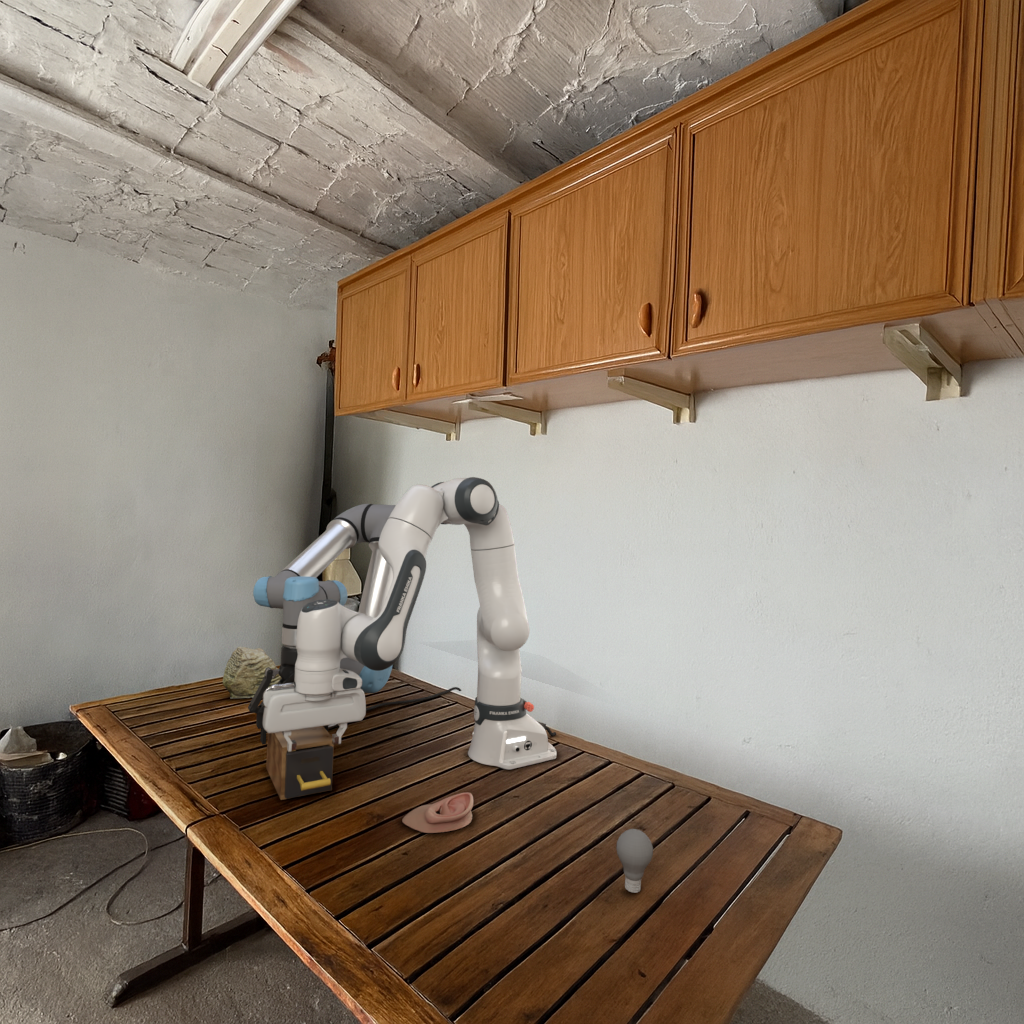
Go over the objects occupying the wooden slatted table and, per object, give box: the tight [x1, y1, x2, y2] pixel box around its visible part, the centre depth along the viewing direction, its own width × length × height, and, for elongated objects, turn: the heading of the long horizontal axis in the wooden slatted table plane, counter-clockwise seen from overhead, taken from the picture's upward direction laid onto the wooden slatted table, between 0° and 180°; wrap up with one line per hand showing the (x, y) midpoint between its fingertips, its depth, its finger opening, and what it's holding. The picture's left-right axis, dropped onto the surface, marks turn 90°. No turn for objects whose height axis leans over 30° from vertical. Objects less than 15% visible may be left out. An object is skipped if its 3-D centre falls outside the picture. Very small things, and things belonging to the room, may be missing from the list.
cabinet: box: [265, 726, 335, 801], centre depth 141 cm, size 17×11×11 cm, turn 31°
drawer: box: [284, 745, 334, 800], centre depth 137 cm, size 21×9×9 cm, turn 31°
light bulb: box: [615, 828, 654, 894], centre depth 106 cm, size 6×6×10 cm
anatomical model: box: [401, 791, 474, 834], centre depth 126 cm, size 13×4×12 cm
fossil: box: [222, 646, 281, 699], centre depth 198 cm, size 9×18×15 cm, turn 132°
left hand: (294, 737), depth 145 cm, fingers open, 13 cm apart
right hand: (314, 747), depth 130 cm, fingers open, 8 cm apart
